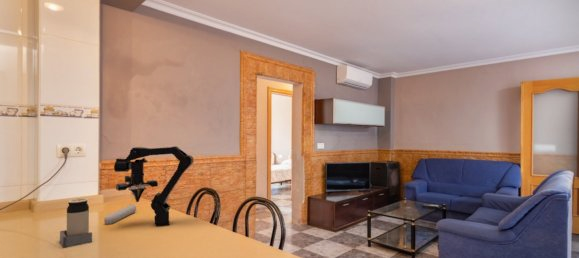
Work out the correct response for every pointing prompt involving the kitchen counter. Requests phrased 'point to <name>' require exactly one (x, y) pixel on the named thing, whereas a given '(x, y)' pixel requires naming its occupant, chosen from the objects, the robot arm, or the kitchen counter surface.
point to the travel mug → (77, 217)
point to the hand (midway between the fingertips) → (137, 201)
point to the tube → (120, 214)
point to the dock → (74, 239)
